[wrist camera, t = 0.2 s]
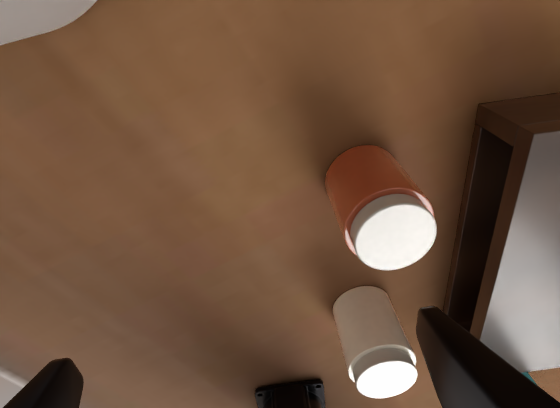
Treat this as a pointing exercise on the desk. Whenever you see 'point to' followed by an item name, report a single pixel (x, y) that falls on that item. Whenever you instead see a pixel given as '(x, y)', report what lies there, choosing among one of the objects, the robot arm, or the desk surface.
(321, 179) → the desk surface
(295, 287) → the desk surface
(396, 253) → the orange lidded jar
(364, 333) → the white lidded jar
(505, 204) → the shelf
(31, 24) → the cylinder vase
